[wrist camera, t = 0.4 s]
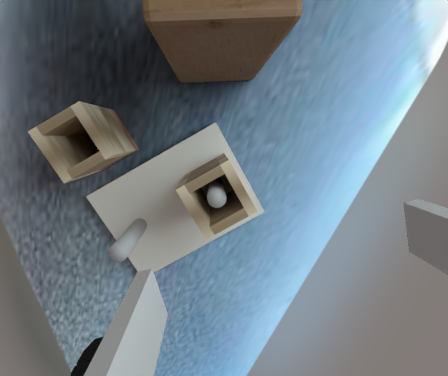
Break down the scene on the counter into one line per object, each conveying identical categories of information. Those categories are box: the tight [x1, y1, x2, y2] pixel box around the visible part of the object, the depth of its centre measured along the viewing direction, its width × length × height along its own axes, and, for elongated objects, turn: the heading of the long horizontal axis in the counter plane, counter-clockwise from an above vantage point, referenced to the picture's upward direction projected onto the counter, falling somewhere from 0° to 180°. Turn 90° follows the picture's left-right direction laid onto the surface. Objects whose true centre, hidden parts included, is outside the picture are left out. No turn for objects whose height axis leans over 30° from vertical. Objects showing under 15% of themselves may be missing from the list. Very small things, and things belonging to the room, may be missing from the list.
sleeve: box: [28, 101, 139, 183], centre depth 32 cm, size 6×6×10 cm
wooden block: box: [142, 0, 302, 83], centre depth 25 cm, size 10×10×20 cm
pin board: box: [86, 122, 265, 273], centre depth 34 cm, size 14×20×11 cm
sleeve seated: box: [176, 153, 257, 239], centre depth 32 cm, size 6×6×10 cm
